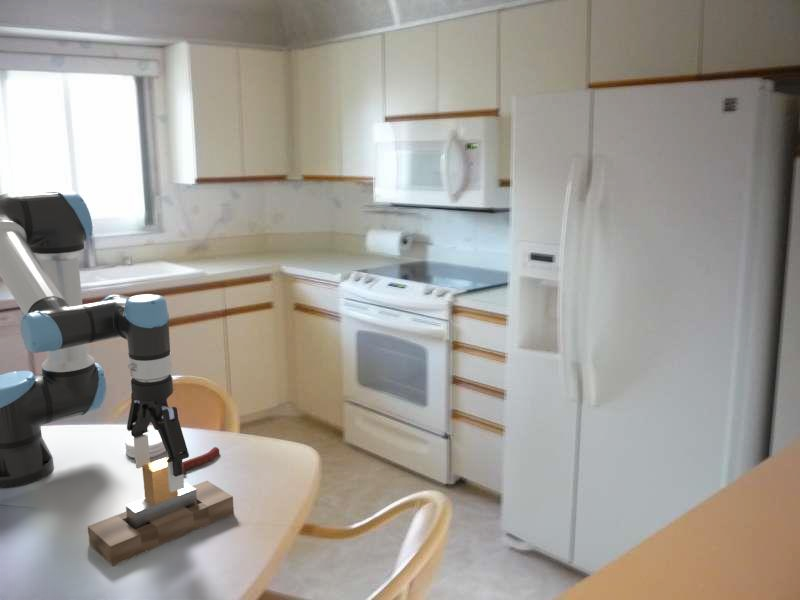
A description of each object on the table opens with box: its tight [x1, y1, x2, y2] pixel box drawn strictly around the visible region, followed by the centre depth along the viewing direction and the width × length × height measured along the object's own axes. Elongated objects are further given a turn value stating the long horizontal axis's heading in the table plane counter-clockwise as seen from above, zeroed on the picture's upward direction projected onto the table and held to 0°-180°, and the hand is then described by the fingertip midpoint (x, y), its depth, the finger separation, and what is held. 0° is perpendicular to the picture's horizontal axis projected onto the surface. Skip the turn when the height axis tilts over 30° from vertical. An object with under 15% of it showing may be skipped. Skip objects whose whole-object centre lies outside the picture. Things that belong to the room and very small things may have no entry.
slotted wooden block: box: [87, 480, 235, 567], centre depth 146 cm, size 10×26×4 cm, turn 135°
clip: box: [125, 457, 197, 529], centre depth 145 cm, size 4×13×14 cm, turn 135°
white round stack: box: [124, 430, 167, 459], centre depth 182 cm, size 10×10×4 cm
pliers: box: [182, 446, 220, 476], centre depth 172 cm, size 12×20×3 cm, turn 165°
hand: (159, 477), depth 144 cm, fingers open, 13 cm apart
